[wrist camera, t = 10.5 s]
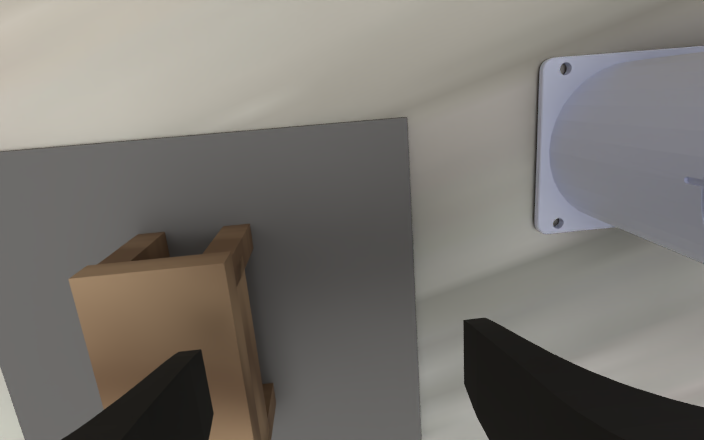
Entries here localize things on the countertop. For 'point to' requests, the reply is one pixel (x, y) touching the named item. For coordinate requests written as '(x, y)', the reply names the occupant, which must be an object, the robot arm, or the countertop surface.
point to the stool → (178, 324)
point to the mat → (261, 270)
